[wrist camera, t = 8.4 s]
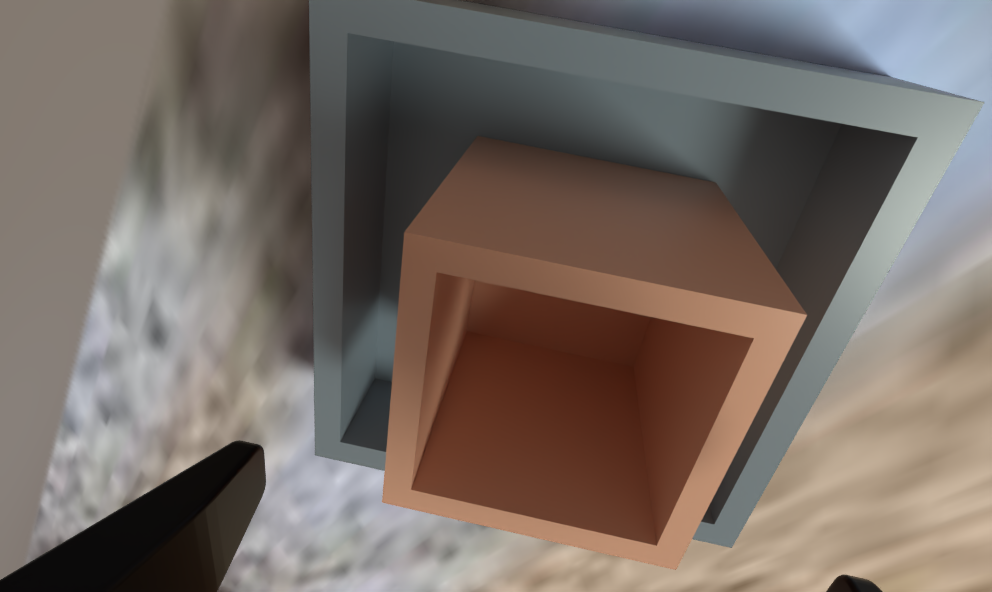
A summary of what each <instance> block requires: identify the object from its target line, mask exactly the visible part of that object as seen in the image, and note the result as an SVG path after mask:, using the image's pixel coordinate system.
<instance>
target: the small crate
mask: <svg viewBox="0 0 992 592" xmlns="http://www.w3.org/2000/svg"><path fill="white" fill-rule="evenodd" d="M806 317H807V314H806V312H805V311H804V310H803V308H802V307H801V305H800V304H799V302H798V301H797V299H796V298H795V297H794V295H793V294H792V292H791V291H790V289H789V288H788V286H787V285H786V283H785V282H784V281H783V279H782V278H781V276H780V275H779V273H778V272H777V270H776V269H775V268H774V266H773V265H772V263H771V262H770V260H769V259H768V257H767V256H766V254H765V253H764V252H763V250H762V249H761V247H760V246H759V244H758V243H757V241H756V240H755V239H754V237H753V236H752V234H751V233H750V231H749V230H748V228H747V227H746V225H745V224H744V223H743V221H742V220H741V218H740V217H739V215H738V214H737V212H736V211H735V210H734V208H733V207H732V205H731V204H730V202H729V201H728V199H727V198H726V196H725V195H724V194H723V192H722V191H721V189H720V188H719V186H718V185H717V183H715V182H710V181H705V180H700V179H695V178H690V177H685V176H680V175H675V174H670V173H664V172H659V171H654V170H649V169H644V168H639V167H634V166H629V165H624V164H619V163H613V162H608V161H603V160H598V159H593V158H588V157H583V156H578V155H573V154H568V153H562V152H557V151H552V150H547V149H542V148H537V147H532V146H527V145H522V144H517V143H511V142H506V141H501V140H496V139H491V138H486V137H481V136H477V137H476V139H475V140H474V141H473V143H472V144H471V145H470V146H469V148H468V149H467V150H466V152H465V153H464V154H463V156H462V157H461V158H460V160H459V161H458V162H457V164H456V165H455V166H454V168H453V169H452V170H451V171H450V173H449V174H448V175H447V177H446V178H445V179H444V181H443V182H442V183H441V185H440V186H439V187H438V189H437V190H436V191H435V192H434V194H433V195H432V196H431V198H430V199H429V200H428V202H427V203H426V204H425V206H424V207H423V208H422V210H421V211H420V212H419V214H418V215H417V216H416V217H415V219H414V220H413V221H412V223H411V224H410V225H409V227H408V228H407V229H406V231H405V232H404V242H403V254H402V267H401V279H400V291H399V303H398V315H397V328H396V340H395V352H394V364H393V377H392V389H391V401H390V413H389V425H388V438H387V450H386V462H385V474H384V486H383V499H382V502H383V503H387V504H391V505H396V506H400V507H404V508H409V509H413V510H417V511H422V512H426V513H430V514H435V515H439V516H444V517H448V518H452V519H457V520H461V521H465V522H470V523H474V524H478V525H483V526H487V527H491V528H496V529H500V530H505V531H509V532H513V533H518V534H522V535H526V536H531V537H535V538H539V539H544V540H548V541H552V542H557V543H561V544H565V545H570V546H574V547H579V548H583V549H587V550H592V551H596V552H600V553H605V554H609V555H613V556H618V557H622V558H626V559H631V560H635V561H640V562H644V563H648V564H653V565H657V566H661V567H666V568H670V569H674V570H676V569H677V567H678V565H679V563H680V561H681V559H682V557H683V555H684V553H685V552H686V550H687V548H688V546H689V544H690V542H691V540H692V538H693V536H694V534H695V532H696V530H697V528H698V526H699V524H700V522H701V520H702V519H703V517H704V515H705V513H706V511H707V509H708V507H709V505H710V503H711V501H712V499H713V497H714V495H715V493H716V491H717V489H718V487H719V486H720V484H721V482H722V480H723V478H724V476H725V474H726V472H727V470H728V468H729V466H730V464H731V462H732V460H733V458H734V456H735V454H736V452H737V451H738V449H739V447H740V445H741V443H742V441H743V439H744V437H745V435H746V433H747V431H748V429H749V427H750V425H751V423H752V421H753V419H754V418H755V416H756V414H757V412H758V410H759V408H760V406H761V404H762V402H763V400H764V398H765V396H766V394H767V392H768V390H769V388H770V386H771V385H772V383H773V381H774V379H775V377H776V375H777V373H778V371H779V369H780V367H781V365H782V363H783V361H784V359H785V357H786V355H787V353H788V351H789V350H790V348H791V346H792V344H793V342H794V340H795V338H796V336H797V334H798V332H799V330H800V328H801V326H802V324H803V322H804V320H805V318H806Z"/></svg>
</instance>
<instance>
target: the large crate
mask: <svg viewBox="0 0 992 592" xmlns="http://www.w3.org/2000/svg"><path fill="white" fill-rule="evenodd" d="M309 35H310V111H311V187H312V263H313V339H314V415H315V455H316V456H321V457H325V458H330V459H334V460H339V461H343V462H348V463H352V464H357V465H361V466H366V467H370V468H375V469H379V470H384V471H385V462H386V450H387V438H388V425H389V413H390V401H391V389H392V377H393V364H394V352H395V340H396V328H397V315H398V303H399V291H400V279H401V267H402V254H403V242H404V232H405V231H406V229H407V228H408V227H409V225H410V224H411V223H412V221H413V220H414V219H415V217H416V216H417V215H418V214H419V212H420V211H421V210H422V208H423V207H424V206H425V204H426V203H427V202H428V200H429V199H430V198H431V196H432V195H433V194H434V192H435V191H436V190H437V189H438V187H439V186H440V185H441V183H442V182H443V181H444V179H445V178H446V177H447V175H448V174H449V173H450V171H451V170H452V169H453V168H454V166H455V165H456V164H457V162H458V161H459V160H460V158H461V157H462V156H463V154H464V153H465V152H466V150H467V149H468V148H469V146H470V145H471V144H472V143H473V141H474V140H475V139H476V137H477V136H481V137H486V138H491V139H496V140H501V141H506V142H511V143H517V144H522V145H527V146H532V147H537V148H542V149H547V150H552V151H557V152H562V153H568V154H573V155H578V156H583V157H588V158H593V159H598V160H603V161H608V162H613V163H619V164H624V165H629V166H634V167H639V168H644V169H649V170H654V171H659V172H664V173H670V174H675V175H680V176H685V177H690V178H695V179H700V180H705V181H710V182H715V183H717V185H718V186H719V188H720V189H721V191H722V192H723V194H724V195H725V196H726V198H727V199H728V201H729V202H730V204H731V205H732V207H733V208H734V210H735V211H736V212H737V214H738V215H739V217H740V218H741V220H742V221H743V223H744V224H745V225H746V227H747V228H748V230H749V231H750V233H751V234H752V236H753V237H754V239H755V240H756V241H757V243H758V244H759V246H760V247H761V249H762V250H763V252H764V253H765V254H766V256H767V257H768V259H769V260H770V262H771V263H772V265H773V266H774V268H775V269H776V270H777V272H778V273H779V275H780V276H781V278H782V279H783V281H784V282H785V283H786V285H787V286H788V288H789V289H790V291H791V292H792V294H793V295H794V297H795V298H796V299H797V301H798V302H799V304H800V305H801V307H802V308H803V310H804V311H805V312H806V314H807V317H806V318H805V320H804V322H803V324H802V326H801V328H800V330H799V332H798V334H797V336H796V338H795V340H794V342H793V344H792V346H791V348H790V350H789V351H788V353H787V355H786V357H785V359H784V361H783V363H782V365H781V367H780V369H779V371H778V373H777V375H776V377H775V379H774V381H773V383H772V385H771V386H770V388H769V390H768V392H767V394H766V396H765V398H764V400H763V402H762V404H761V406H760V408H759V410H758V412H757V414H756V416H755V418H754V419H753V421H752V423H751V425H750V427H749V429H748V431H747V433H746V435H745V437H744V439H743V441H742V443H741V445H740V447H739V449H738V451H737V452H736V454H735V456H734V458H733V460H732V462H731V464H730V466H729V468H728V470H727V472H726V474H725V476H724V478H723V480H722V482H721V484H720V486H719V487H718V489H717V491H716V493H715V495H714V497H713V499H712V501H711V503H710V505H709V507H708V509H707V511H706V513H705V515H704V517H703V519H702V520H701V522H700V524H699V526H698V528H697V530H696V532H695V534H694V536H693V538H692V539H694V540H699V541H703V542H708V543H712V544H717V545H721V546H726V547H730V548H732V546H733V545H734V543H735V541H736V539H737V538H738V536H739V534H740V532H741V531H742V529H743V527H744V525H745V524H746V522H747V520H748V518H749V516H750V515H751V513H752V511H753V509H754V508H755V506H756V504H757V502H758V501H759V499H760V497H761V495H762V494H763V492H764V490H765V488H766V487H767V485H768V483H769V481H770V479H771V478H772V476H773V474H774V472H775V471H776V469H777V467H778V465H779V464H780V462H781V460H782V458H783V457H784V455H785V453H786V451H787V450H788V448H789V446H790V444H791V442H792V441H793V439H794V437H795V435H796V434H797V432H798V430H799V428H800V427H801V425H802V423H803V421H804V420H805V418H806V416H807V414H808V413H809V411H810V409H811V407H812V405H813V404H814V402H815V400H816V398H817V397H818V395H819V393H820V391H821V390H822V388H823V386H824V384H825V383H826V381H827V379H828V377H829V376H830V374H831V372H832V370H833V368H834V367H835V365H836V363H837V361H838V360H839V358H840V356H841V354H842V353H843V351H844V349H845V347H846V346H847V344H848V342H849V340H850V339H851V337H852V335H853V333H854V331H855V330H856V328H857V326H858V324H859V323H860V321H861V319H862V317H863V316H864V314H865V312H866V310H867V309H868V307H869V305H870V303H871V302H872V300H873V298H874V296H875V294H876V293H877V291H878V289H879V287H880V286H881V284H882V282H883V280H884V279H885V277H886V275H887V273H888V272H889V270H890V268H891V266H892V264H893V263H894V261H895V259H896V257H897V256H898V254H899V252H900V250H901V249H902V247H903V245H904V243H905V242H906V240H907V238H908V236H909V235H910V233H911V231H912V229H913V227H914V226H915V224H916V222H917V220H918V219H919V217H920V215H921V213H922V212H923V210H924V208H925V206H926V205H927V203H928V201H929V199H930V198H931V196H932V194H933V192H934V190H935V189H936V187H937V185H938V183H939V182H940V180H941V178H942V176H943V175H944V173H945V171H946V169H947V168H948V166H949V164H950V162H951V161H952V159H953V157H954V155H955V153H956V152H957V150H958V148H959V146H960V145H961V143H962V141H963V139H964V138H965V136H966V134H967V132H968V131H969V129H970V127H971V125H972V124H973V122H974V120H975V118H976V116H977V115H978V113H979V111H980V109H981V108H982V106H983V104H984V102H981V101H977V100H974V99H970V98H966V97H963V96H959V95H955V94H952V93H948V92H944V91H941V90H937V89H933V88H930V87H926V86H922V85H919V84H915V83H911V82H908V81H904V80H900V79H896V78H893V77H888V76H882V75H877V74H871V73H865V72H860V71H854V70H849V69H843V68H837V67H832V66H826V65H821V64H815V63H809V62H804V61H798V60H793V59H787V58H781V57H776V56H770V55H765V54H759V53H753V52H748V51H742V50H737V49H731V48H725V47H720V46H714V45H709V44H703V43H697V42H692V41H686V40H681V39H675V38H669V37H664V36H658V35H653V34H647V33H641V32H636V31H630V30H625V29H619V28H613V27H608V26H602V25H597V24H591V23H585V22H580V21H574V20H569V19H563V18H557V17H552V16H546V15H541V14H535V13H529V12H524V11H518V10H513V9H507V8H501V7H496V6H490V5H485V4H479V3H473V2H468V1H462V0H309Z"/></svg>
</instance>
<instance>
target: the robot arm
mask: <svg viewBox="0 0 992 592" xmlns="http://www.w3.org/2000/svg"><path fill="white" fill-rule="evenodd" d="M265 485H266V473H265V459H264V450H263V448H262V446H260V445H258V444H254V443H250V442H245V441H235V442H232V443H230V444H228V445H227V446H225V447H223V448H222V449H220V450H218V451H217V452H215V453H213V454H211V455H210V456H208V457H206V458H205V459H203V460H201V461H200V462H198V463H196V464H195V465H193V466H191V467H190V468H188V469H186V470H185V471H183V472H181V473H179V474H178V475H176V476H174V477H173V478H171V479H169V480H168V481H166V482H164V483H163V484H161V485H159V486H158V487H156V488H154V489H153V490H151V491H149V492H148V493H146V494H144V495H142V496H141V497H139V498H137V499H136V500H134V501H132V502H131V503H129V504H127V505H126V506H124V507H122V508H121V509H119V510H117V511H116V512H114V513H112V514H110V515H109V516H107V517H105V518H104V519H102V520H100V521H99V522H97V523H95V524H94V525H92V526H90V527H89V528H87V529H85V530H84V531H82V532H80V533H78V534H77V535H75V536H73V537H72V538H70V539H68V540H67V541H65V542H63V543H62V544H60V545H58V546H57V547H55V548H53V549H52V550H50V551H48V552H46V553H45V554H43V555H41V556H40V557H38V558H36V559H35V560H33V561H31V562H30V563H28V564H26V565H25V566H23V567H21V568H20V569H18V570H16V571H14V572H13V573H11V574H9V575H8V576H6V577H4V578H3V579H1V580H0V592H217V591H218V589H219V587H220V585H221V583H222V581H223V579H224V577H225V575H226V573H227V570H228V568H229V566H230V564H231V562H232V560H233V558H234V556H235V553H236V551H237V549H238V547H239V545H240V543H241V541H242V538H243V536H244V534H245V532H246V530H247V528H248V526H249V524H250V521H251V519H252V517H253V515H254V513H255V511H256V509H257V507H258V504H259V502H260V500H261V498H262V496H263V493H264V490H265ZM826 592H882V591H881V590H880V589H879V588H878V587H877V586H876V585H875V584H874V583H873V582H871V581H869V580H867V579H863V578H858V577H854V576H849V575H841V576H838V577H837V578H836V579H835V580H834V582H833V583H832V584H831V586H830V587H829V588H828V590H827V591H826Z"/></svg>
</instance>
